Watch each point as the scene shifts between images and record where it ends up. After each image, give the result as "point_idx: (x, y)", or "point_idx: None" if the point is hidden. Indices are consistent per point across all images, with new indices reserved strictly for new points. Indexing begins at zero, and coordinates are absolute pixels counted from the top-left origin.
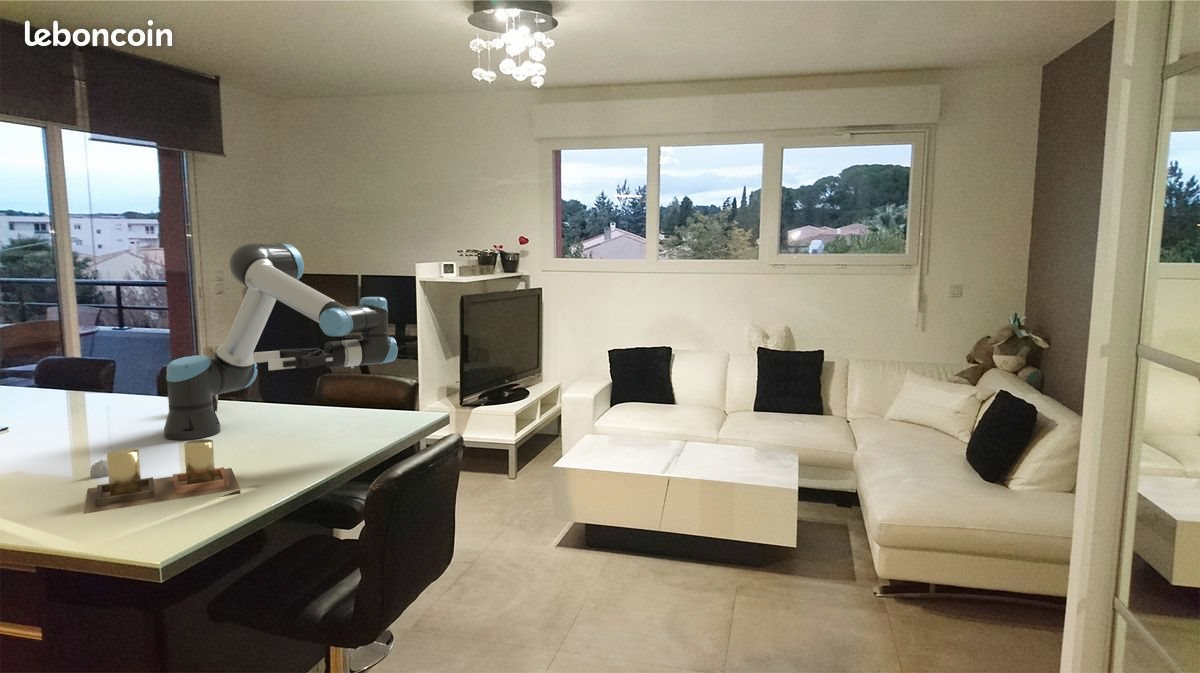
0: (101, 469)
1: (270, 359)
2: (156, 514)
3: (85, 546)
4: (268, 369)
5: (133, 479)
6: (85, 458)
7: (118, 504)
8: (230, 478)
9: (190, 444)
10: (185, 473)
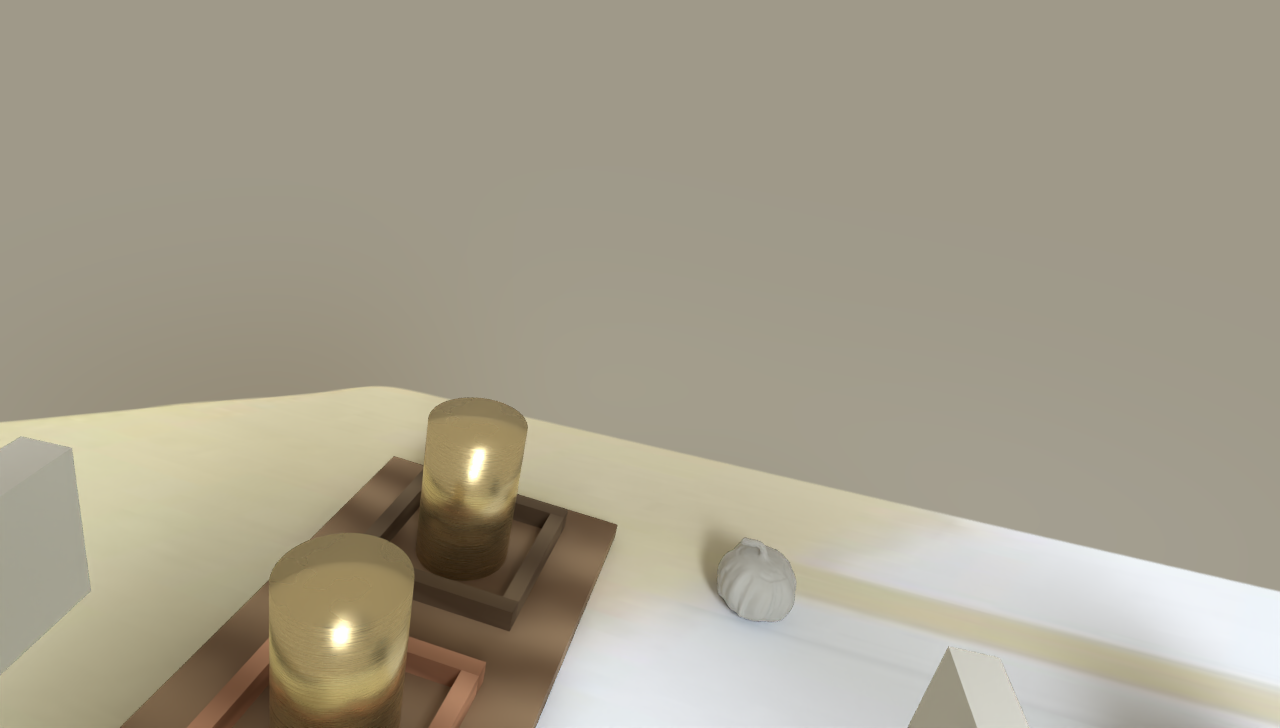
0: (725, 557)
1: (28, 464)
2: (221, 552)
3: (193, 416)
4: (87, 583)
5: (421, 504)
6: (1048, 654)
7: (382, 509)
8: None
9: (351, 548)
10: (454, 695)
